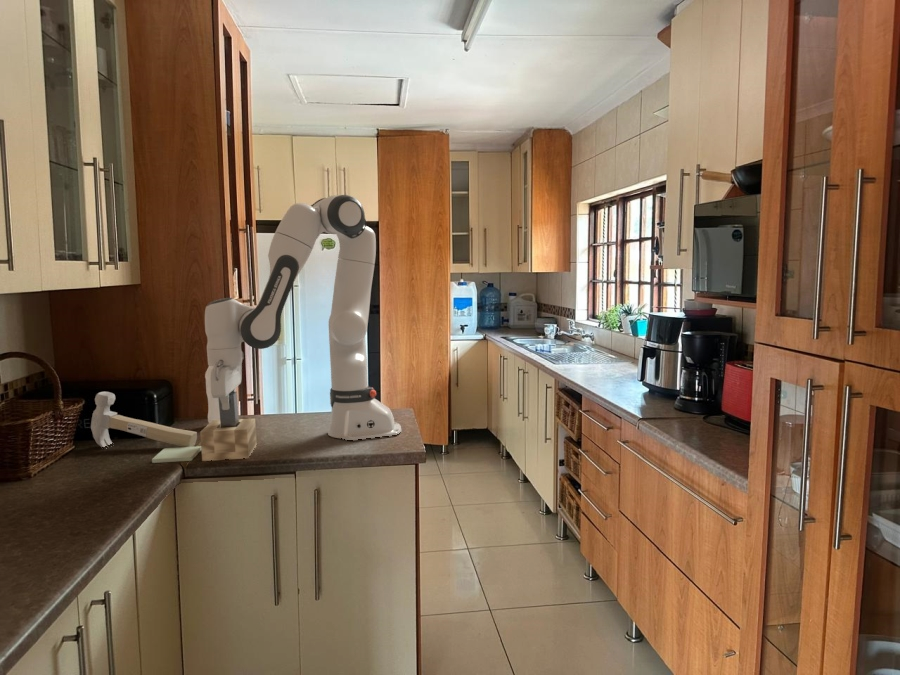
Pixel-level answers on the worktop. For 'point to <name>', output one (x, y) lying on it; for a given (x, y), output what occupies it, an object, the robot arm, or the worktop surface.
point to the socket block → (228, 440)
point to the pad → (177, 454)
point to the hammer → (133, 425)
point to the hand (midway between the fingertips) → (228, 407)
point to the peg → (229, 412)
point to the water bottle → (211, 399)
